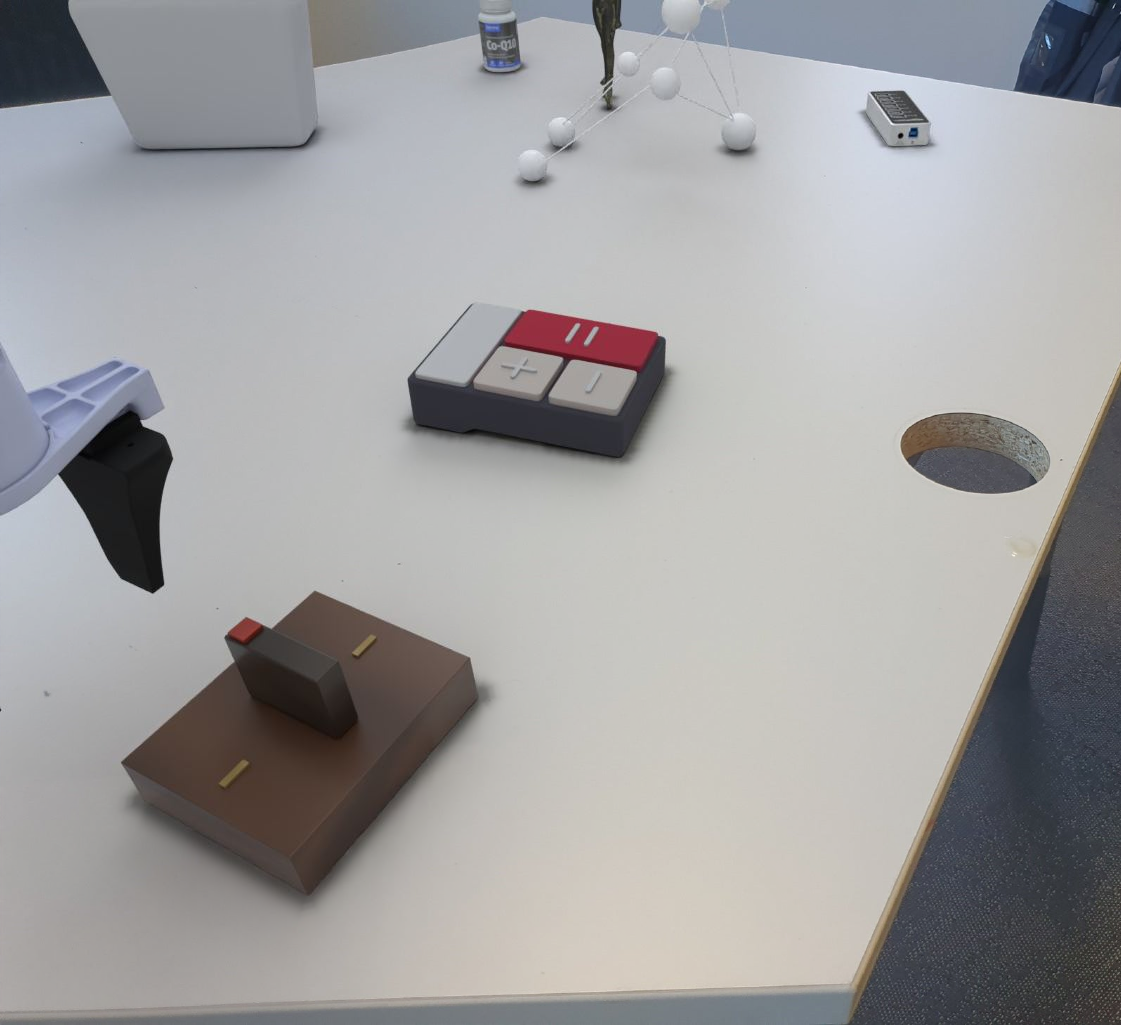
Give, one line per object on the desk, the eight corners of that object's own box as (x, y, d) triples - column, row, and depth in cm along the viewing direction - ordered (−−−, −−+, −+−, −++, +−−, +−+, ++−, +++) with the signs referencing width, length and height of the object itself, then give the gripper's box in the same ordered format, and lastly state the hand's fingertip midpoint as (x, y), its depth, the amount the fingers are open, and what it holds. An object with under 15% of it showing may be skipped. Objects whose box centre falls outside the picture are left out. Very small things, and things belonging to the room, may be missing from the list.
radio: (341, 122, 113) (283, -139, 97) (325, 149, 107) (260, -125, 91) (145, 126, 112) (53, -136, 96) (117, 153, 106) (14, -122, 90)
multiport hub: (902, 110, 115) (905, 90, 114) (928, 145, 107) (932, 123, 106) (864, 111, 115) (867, 91, 114) (888, 146, 107) (891, 124, 105)
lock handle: (359, 717, 45) (338, 656, 43) (338, 740, 44) (314, 678, 42) (271, 674, 47) (245, 612, 45) (248, 694, 46) (220, 633, 44)
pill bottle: (488, 75, 126) (478, 2, 120) (481, 64, 129) (472, -7, 124) (524, 71, 127) (517, -1, 122) (517, 60, 130) (509, -10, 125)
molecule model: (765, 188, 103) (776, 20, 88) (523, 209, 102) (493, 42, 87) (745, 107, 111) (752, -60, 96) (521, 125, 109) (492, -41, 95)
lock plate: (308, 895, 42) (288, 855, 40) (144, 800, 46) (118, 759, 44) (479, 696, 50) (470, 655, 48) (328, 629, 54) (313, 587, 52)
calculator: (622, 413, 63) (402, 370, 65) (621, 466, 65) (411, 423, 68) (668, 327, 71) (471, 291, 73) (665, 377, 73) (476, 342, 76)
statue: (580, 112, 115) (566, -86, 102) (591, 94, 120) (579, -97, 107) (620, 114, 115) (611, -85, 102) (629, 96, 120) (622, -97, 107)
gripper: (17, 237, 38) (144, 508, 47) (-450, 437, 28) (-179, 732, 37) (146, 277, 35) (254, 555, 44) (-318, 511, 26) (-61, 809, 35)
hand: (65, 640), depth 40 cm, fingers open, 7 cm apart
